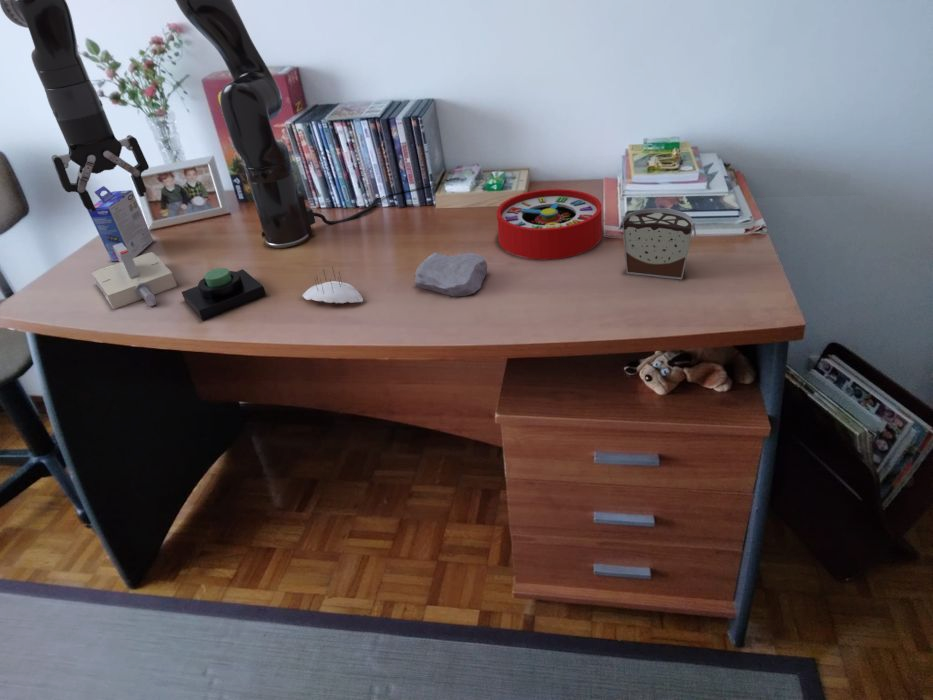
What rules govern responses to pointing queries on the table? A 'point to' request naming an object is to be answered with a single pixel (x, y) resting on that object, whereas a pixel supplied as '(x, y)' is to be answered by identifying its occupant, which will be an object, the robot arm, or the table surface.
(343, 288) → the pincushion
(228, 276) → the push button
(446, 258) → the stone block
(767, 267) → the table surface
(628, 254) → the food container
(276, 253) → the table surface
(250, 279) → the button housing
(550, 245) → the toy clock
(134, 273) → the pale grey rectangular block
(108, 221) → the ink cartridge box
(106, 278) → the block
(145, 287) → the spout
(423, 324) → the table surface
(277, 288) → the table surface
